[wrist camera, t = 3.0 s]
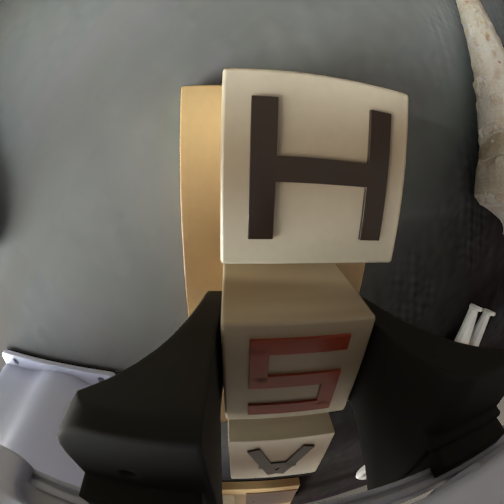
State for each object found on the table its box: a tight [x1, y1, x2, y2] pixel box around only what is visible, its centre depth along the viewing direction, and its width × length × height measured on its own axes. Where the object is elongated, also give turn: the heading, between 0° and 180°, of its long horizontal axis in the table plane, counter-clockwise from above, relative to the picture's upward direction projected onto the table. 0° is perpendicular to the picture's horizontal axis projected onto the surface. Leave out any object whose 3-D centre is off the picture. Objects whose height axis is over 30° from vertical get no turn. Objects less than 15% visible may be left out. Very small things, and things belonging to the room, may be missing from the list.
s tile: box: [221, 263, 375, 419], centre depth 9 cm, size 4×4×4 cm
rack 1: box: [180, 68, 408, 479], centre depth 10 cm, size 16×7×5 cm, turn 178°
